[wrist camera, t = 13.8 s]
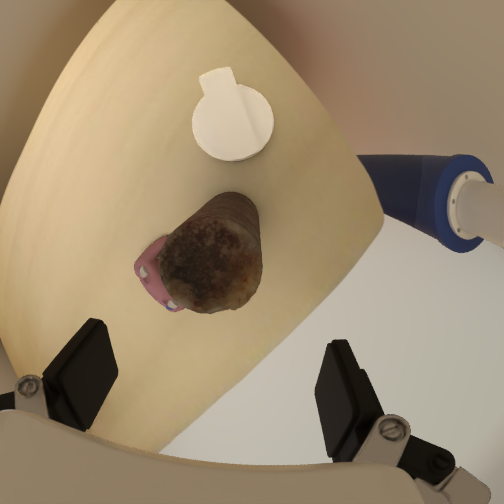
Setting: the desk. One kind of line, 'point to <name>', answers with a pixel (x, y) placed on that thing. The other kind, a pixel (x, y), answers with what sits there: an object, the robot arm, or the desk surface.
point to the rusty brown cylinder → (214, 256)
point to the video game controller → (154, 275)
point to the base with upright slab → (231, 118)
